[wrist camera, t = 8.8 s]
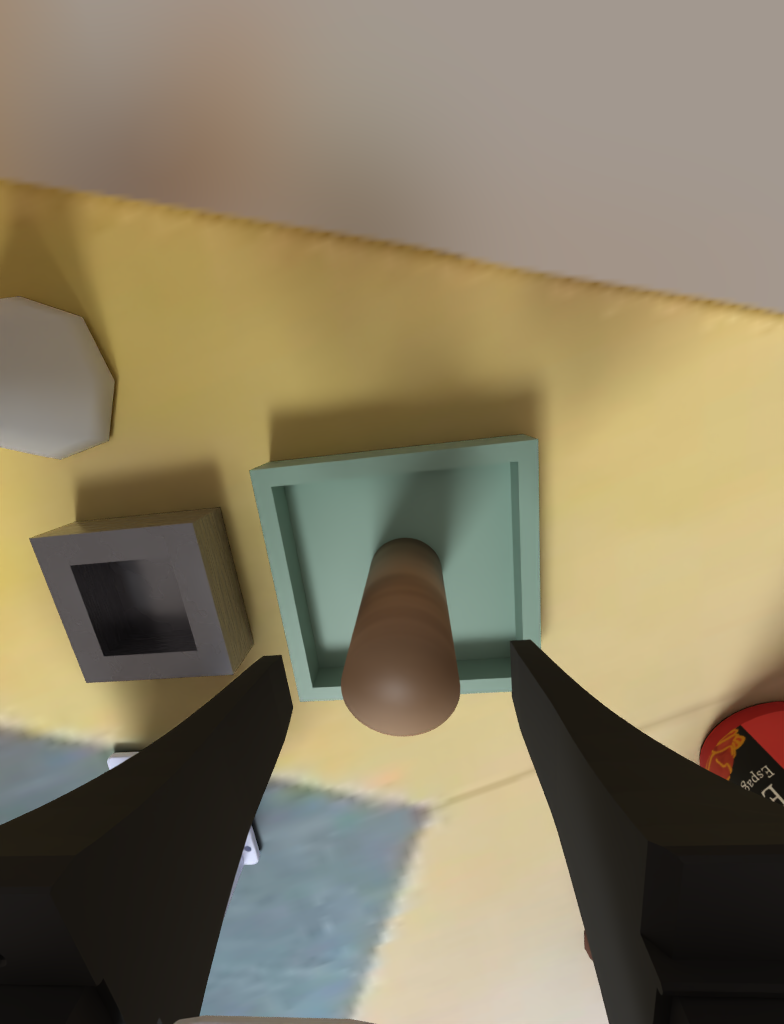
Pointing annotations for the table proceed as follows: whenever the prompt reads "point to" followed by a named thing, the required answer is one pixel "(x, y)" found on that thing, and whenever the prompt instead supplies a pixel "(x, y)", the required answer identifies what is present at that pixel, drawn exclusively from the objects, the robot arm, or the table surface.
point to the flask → (51, 381)
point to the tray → (406, 514)
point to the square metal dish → (147, 595)
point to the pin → (402, 644)
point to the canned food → (750, 750)
